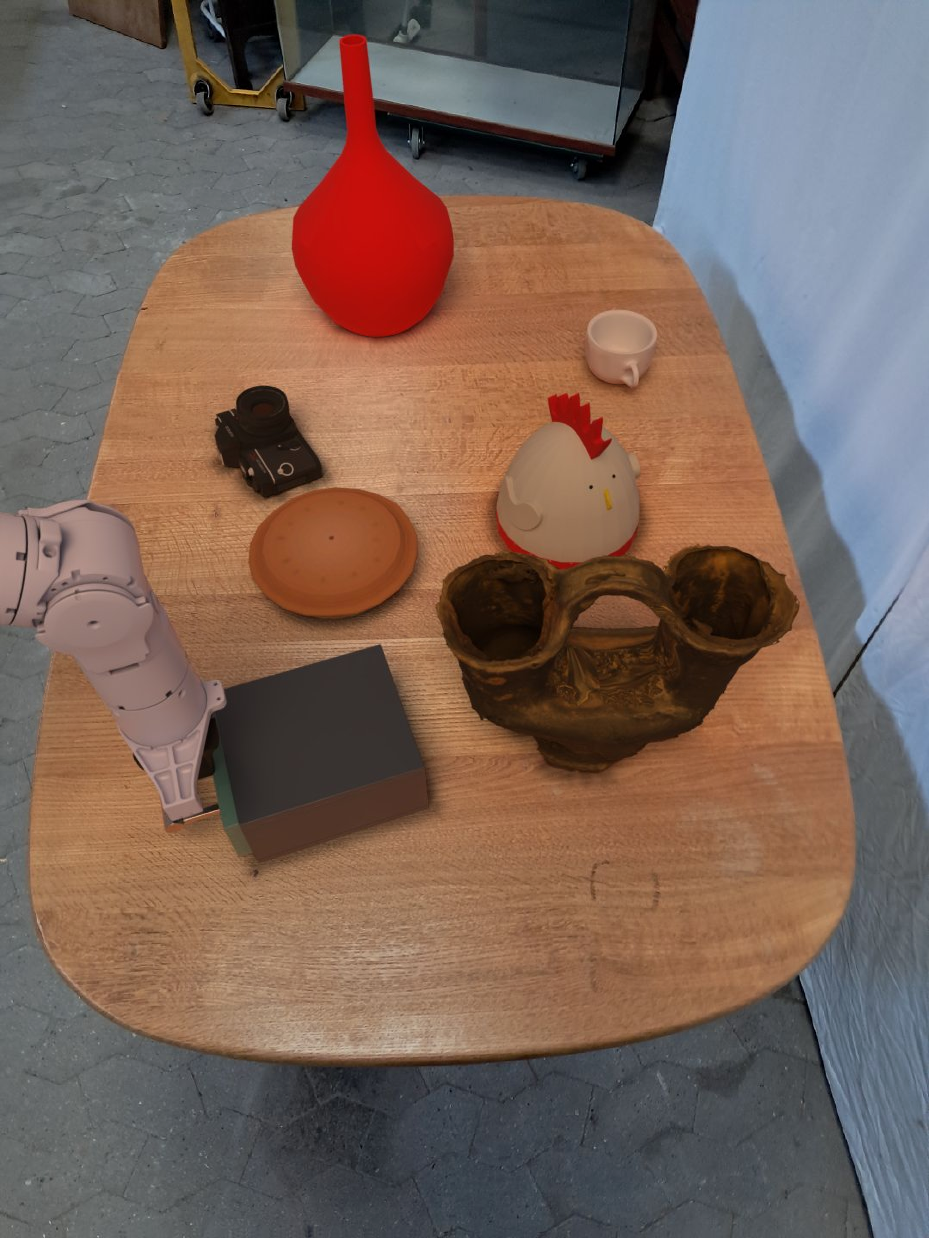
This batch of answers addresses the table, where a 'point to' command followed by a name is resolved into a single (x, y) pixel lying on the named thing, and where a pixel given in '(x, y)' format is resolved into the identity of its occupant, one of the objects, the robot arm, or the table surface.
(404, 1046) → the table surface
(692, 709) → the pottery vessel
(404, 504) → the table surface
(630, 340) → the teacup
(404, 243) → the vase
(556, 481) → the kitchen timer
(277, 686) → the dark grey storage box
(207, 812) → the drawer
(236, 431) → the film camera
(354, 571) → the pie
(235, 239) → the table surface
